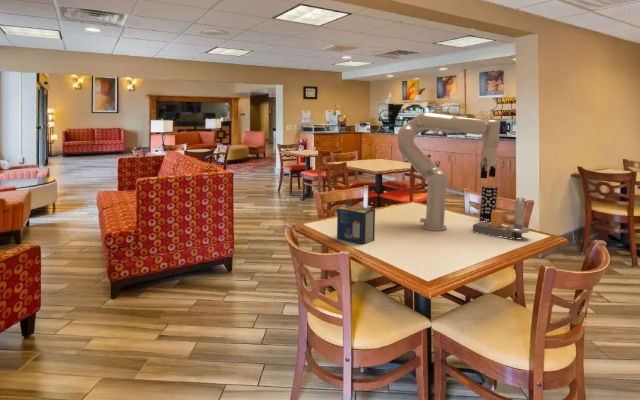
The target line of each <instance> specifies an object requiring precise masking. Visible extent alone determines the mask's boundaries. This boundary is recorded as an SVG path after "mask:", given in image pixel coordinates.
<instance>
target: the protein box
mask: <svg viewBox="0 0 640 400" xmlns="http://www.w3.org/2000/svg"><path fill="white" fill-rule="evenodd" d="M336 213H337V218H336V219H337V220H336V224H337V225H336V227H337V228H336V239H337V240H339V241H344V242H348V243H354V244H357V245H365V244H368V243H370V242H373V241H375V229H376V228H375V227H376V225H375V224H376V223H375V222H376V209H375V208H369V207H364V206H357V205H352V204H351V205H350V204H348V205H346V206H345V205H344V206H341V207H337V212H336Z"/></svg>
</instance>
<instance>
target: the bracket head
mask: <svg viewBox="0 0 640 400" xmlns="http://www.w3.org/2000/svg"><path fill="white" fill-rule="evenodd" d="M490 225H491V223H486V222H481V221H480V222H477V223H473V224H472V232H473V231H474V232H473V233H475V232H478V233H477V234H480V233H484V234H483V235H486V234H490V235H489V236H491V235H495V236H494V237H496V236H502V237H507V238H513V237H514V232H511V231H508V230H507V227H508V226H507V225H502V227H501V228H493V227H490Z"/></svg>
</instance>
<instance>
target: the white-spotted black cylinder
mask: <svg viewBox="0 0 640 400" xmlns="http://www.w3.org/2000/svg"><path fill="white" fill-rule="evenodd" d="M498 189H499V188H498V186H490V185H484V186H481V198H480V210H479V211H480V212H479V221H480V222H481V221H485V223H486V221H487V222H491V212H492V211H494V210H497V202H498V201H497V200H498Z"/></svg>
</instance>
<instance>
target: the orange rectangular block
mask: <svg viewBox="0 0 640 400" xmlns="http://www.w3.org/2000/svg"><path fill="white" fill-rule="evenodd" d="M503 215H504V211H503V210H497V209H496V210H494V211H492V212H491V223H490V224H491V225H490V227H493V228H501V227H502V226H503Z"/></svg>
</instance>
